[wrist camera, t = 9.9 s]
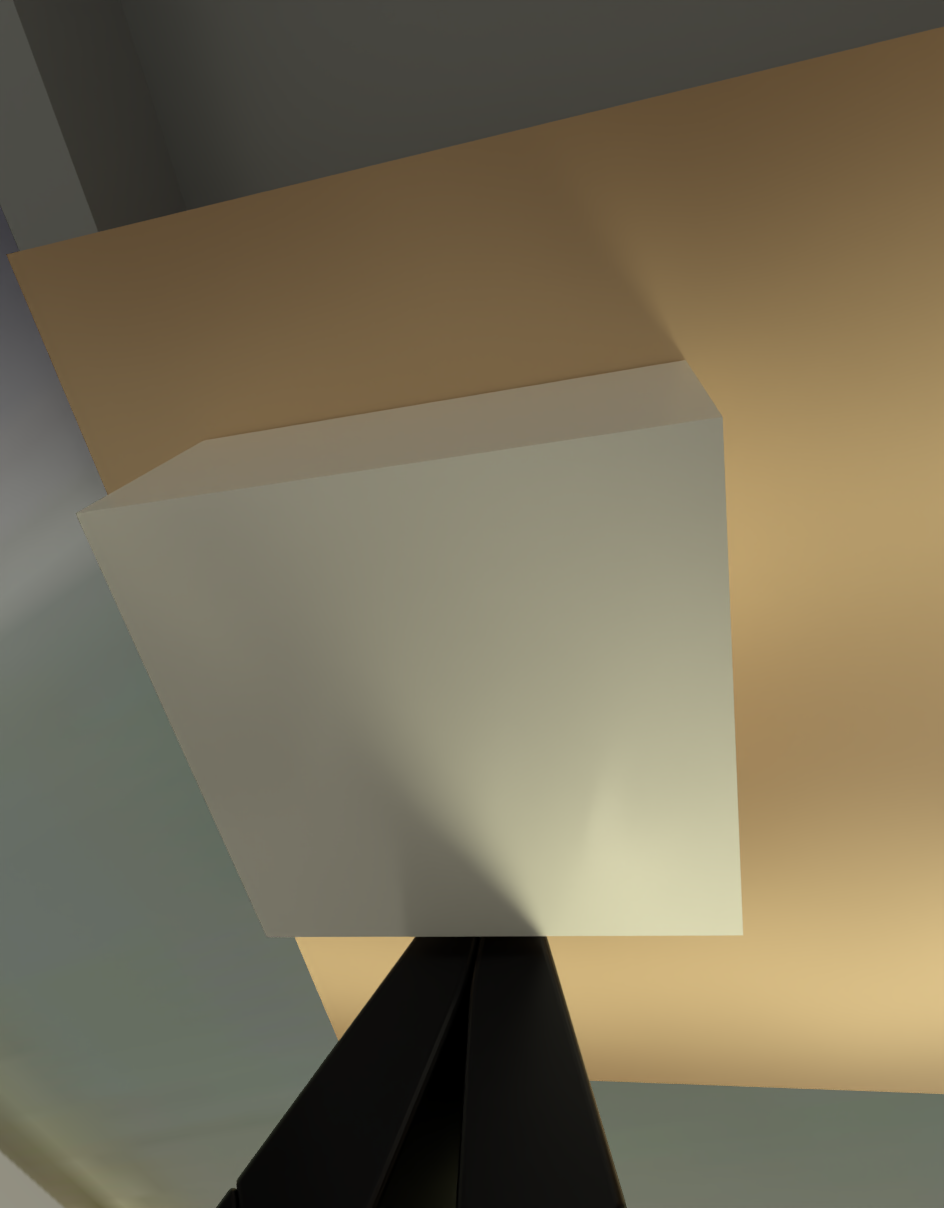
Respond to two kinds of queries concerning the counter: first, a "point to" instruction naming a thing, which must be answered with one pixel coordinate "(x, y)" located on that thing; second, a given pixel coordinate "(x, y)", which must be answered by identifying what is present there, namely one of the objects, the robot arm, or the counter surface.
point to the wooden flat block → (752, 482)
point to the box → (345, 85)
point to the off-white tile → (453, 659)
